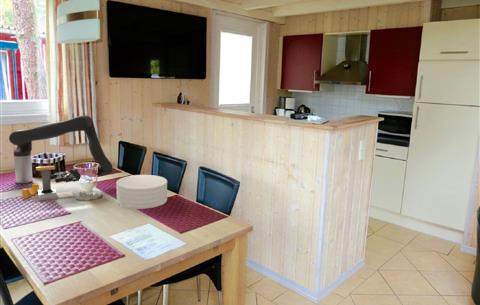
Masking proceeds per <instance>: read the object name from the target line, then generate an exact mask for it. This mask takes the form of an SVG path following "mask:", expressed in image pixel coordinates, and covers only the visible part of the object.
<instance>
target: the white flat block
mask: <svg viewBox="0 0 480 305" xmlns="http://www.w3.org/2000/svg"><path fill="white" fill-rule="evenodd" d="M57 193H58V192H57V190H56V188H55V187H54V188H51V193H43V189H39V190H38V192H37V196H38V198H39V201H40V202H43V201H42V200H49V201H52V200H51V199H57ZM57 200H58V199H57Z"/></svg>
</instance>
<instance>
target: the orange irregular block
mask: <svg viewBox="0 0 480 305" xmlns="http://www.w3.org/2000/svg"><path fill="white" fill-rule="evenodd" d="M31 184H32V185H31V188H22V189H21V193H22V199H29V198H30V197H32V196H35V194H38V190H40V188H39V183H31Z"/></svg>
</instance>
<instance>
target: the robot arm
mask: <svg viewBox="0 0 480 305" xmlns="http://www.w3.org/2000/svg"><path fill="white" fill-rule="evenodd" d="M72 132H84V133H85V134H86V137H87V141H88V142H87V143H88V148H89V152H90V154H91V156H92V158H93V160H94V163H98V164H99V165H97V166H98V173H97V175H98V176H97V177H105V176H107V175H110V174H112V173H113V170H114V168H113V165H112V163H111V161H110V159H108V158H107V156H106V154H105V152H104V150H103V148H102V146H101V143H100V140H99V137H98V134H97V131H96V127H95V124H94V121H93V119H92V117H91V116H89V115H86V114H85V115H84V114H83V115H78V116H75V117H73V118H70V119H67V120H63V121H62V120H61V121H54V122H48V123H44V124H41V125H38V126H36V127H33V128H29V129H19V130H15V131H13V132H11V133H10V134H9V136H8V140H9V142H10V144H12V145H15V146H17V147H16V148H15V150H14V151H13V159H14V160H13V161H14V162H13V163H14V172H15V182H16V183H18V184H25V183H31V182H33V165H32V149H33V142H35V141H41V140H47V139H48V140H49V139H54V138H57V137H61V136H64V135H65V134H67V133H72ZM76 168H77V167H76ZM76 168H71V169H70V170H69V172H67V171H59V172H54V174H50V180H55V181H54V182H55V183H56V184H58V183H62V182H63V183H70V182H71V183H72V182H74V183H75V182H80V181H79V179H80V174H79V173H78V171H77V169H76ZM97 177H96V178H97Z"/></svg>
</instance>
